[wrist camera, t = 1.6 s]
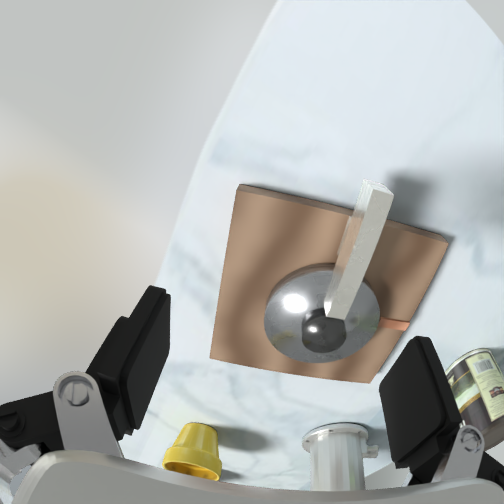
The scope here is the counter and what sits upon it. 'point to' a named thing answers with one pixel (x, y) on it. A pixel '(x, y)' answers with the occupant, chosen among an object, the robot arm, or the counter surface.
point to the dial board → (309, 253)
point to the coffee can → (479, 394)
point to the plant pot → (195, 452)
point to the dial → (332, 292)
